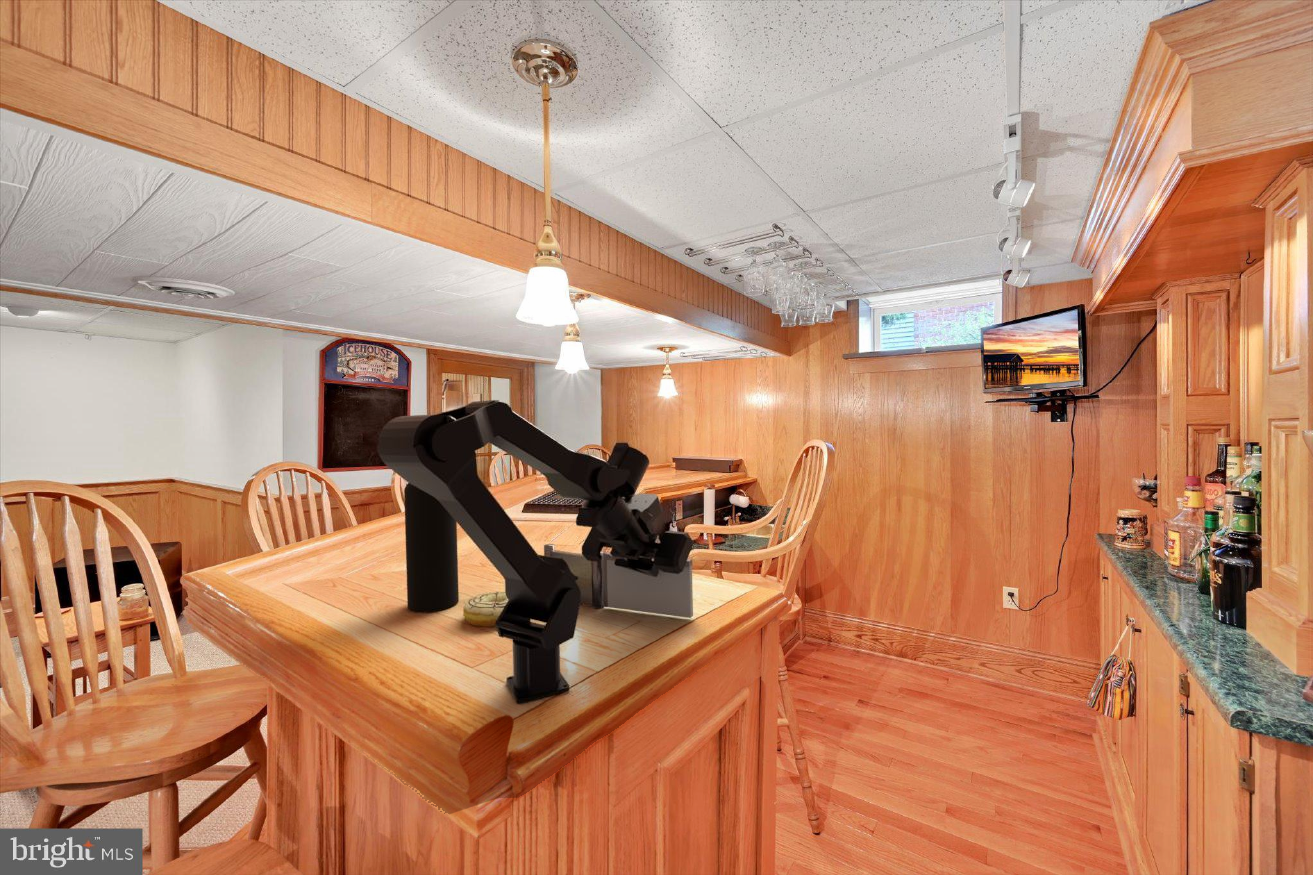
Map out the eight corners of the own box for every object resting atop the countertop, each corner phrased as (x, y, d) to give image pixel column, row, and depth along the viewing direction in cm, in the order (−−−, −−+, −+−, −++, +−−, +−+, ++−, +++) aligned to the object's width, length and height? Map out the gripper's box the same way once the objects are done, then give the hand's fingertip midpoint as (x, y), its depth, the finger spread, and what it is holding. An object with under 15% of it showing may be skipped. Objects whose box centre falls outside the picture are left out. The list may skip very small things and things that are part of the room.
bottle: (447, 612, 93) (442, 456, 92) (398, 613, 93) (393, 457, 93) (465, 596, 102) (462, 453, 101) (421, 597, 102) (417, 454, 101)
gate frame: (542, 597, 100) (541, 545, 100) (550, 594, 102) (549, 543, 102) (599, 609, 93) (598, 553, 93) (606, 605, 95) (605, 551, 94)
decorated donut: (526, 627, 86) (526, 604, 86) (458, 633, 84) (457, 609, 84) (530, 606, 96) (529, 585, 96) (469, 610, 94) (468, 590, 94)
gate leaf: (601, 606, 93) (600, 553, 93) (606, 603, 94) (605, 551, 94) (690, 618, 86) (689, 561, 86) (693, 615, 88) (692, 559, 87)
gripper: (686, 480, 79) (719, 539, 88) (590, 477, 89) (629, 530, 98) (659, 543, 72) (698, 599, 82) (559, 531, 82) (604, 582, 92)
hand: (655, 574), depth 88 cm, fingers closed, pressing on gate leaf
